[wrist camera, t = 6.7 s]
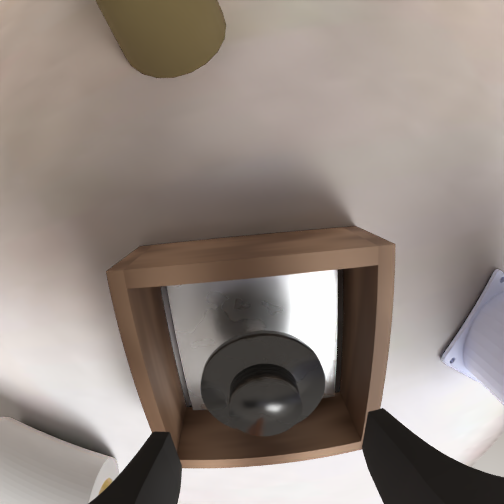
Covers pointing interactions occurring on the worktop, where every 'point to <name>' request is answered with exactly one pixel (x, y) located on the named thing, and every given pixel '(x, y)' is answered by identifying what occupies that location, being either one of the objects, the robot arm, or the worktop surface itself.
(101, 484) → the toilet paper
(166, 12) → the brown tapered figure
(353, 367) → the frame
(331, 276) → the plunger
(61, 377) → the worktop surface
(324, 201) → the worktop surface
